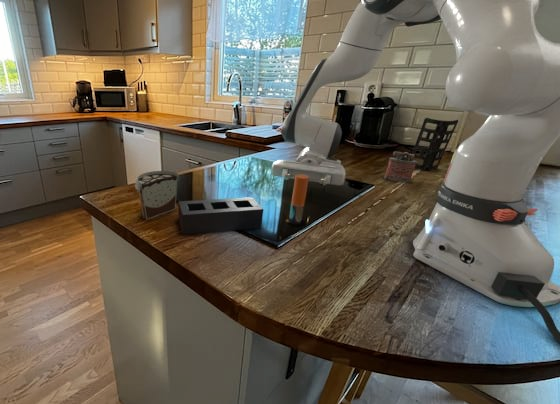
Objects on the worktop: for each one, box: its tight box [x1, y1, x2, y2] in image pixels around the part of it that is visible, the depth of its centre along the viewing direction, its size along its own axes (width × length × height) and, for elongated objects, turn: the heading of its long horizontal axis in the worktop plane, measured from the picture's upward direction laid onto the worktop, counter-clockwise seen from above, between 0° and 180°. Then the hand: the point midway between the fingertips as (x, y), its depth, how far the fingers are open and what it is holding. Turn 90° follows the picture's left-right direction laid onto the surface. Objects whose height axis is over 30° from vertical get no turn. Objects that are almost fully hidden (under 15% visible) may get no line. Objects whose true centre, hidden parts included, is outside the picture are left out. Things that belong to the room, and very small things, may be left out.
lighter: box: [383, 151, 418, 184], centre depth 104 cm, size 8×3×10 cm, turn 58°
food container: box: [134, 170, 180, 221], centre depth 76 cm, size 12×6×10 cm, turn 134°
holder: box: [411, 117, 459, 172], centre depth 116 cm, size 11×8×20 cm
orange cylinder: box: [288, 174, 309, 226], centre depth 72 cm, size 3×3×12 cm
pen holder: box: [177, 196, 264, 236], centre depth 71 cm, size 8×19×5 cm, turn 101°
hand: (304, 179), depth 80 cm, fingers open, 8 cm apart
